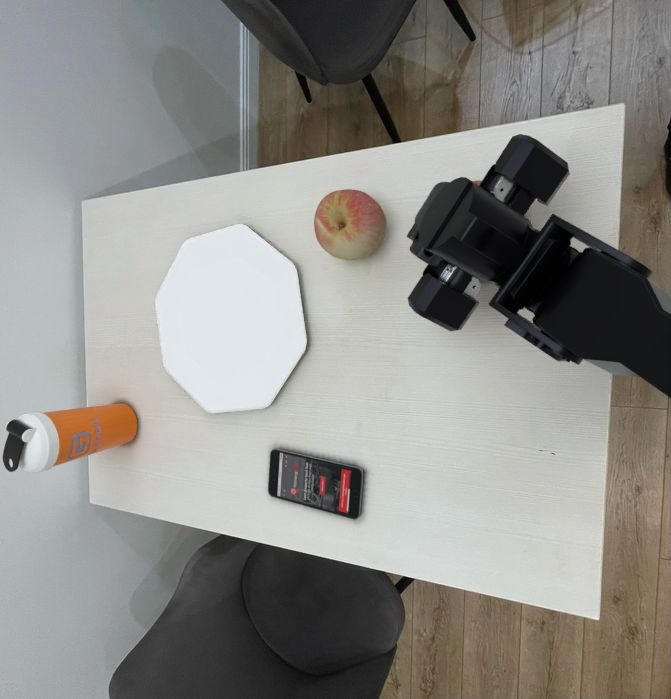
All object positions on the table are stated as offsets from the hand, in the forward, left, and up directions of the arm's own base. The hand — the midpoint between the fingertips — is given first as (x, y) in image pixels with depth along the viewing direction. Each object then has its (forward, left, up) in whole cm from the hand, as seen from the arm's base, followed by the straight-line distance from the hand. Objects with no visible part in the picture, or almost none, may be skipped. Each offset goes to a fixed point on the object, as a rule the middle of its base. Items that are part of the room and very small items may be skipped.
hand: (452, 218), depth 59 cm
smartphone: (+13, +38, -7) cm, 41 cm away
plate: (+33, +20, -7) cm, 39 cm away
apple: (+14, +3, -7) cm, 16 cm away
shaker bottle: (+52, +43, -7) cm, 67 cm away
